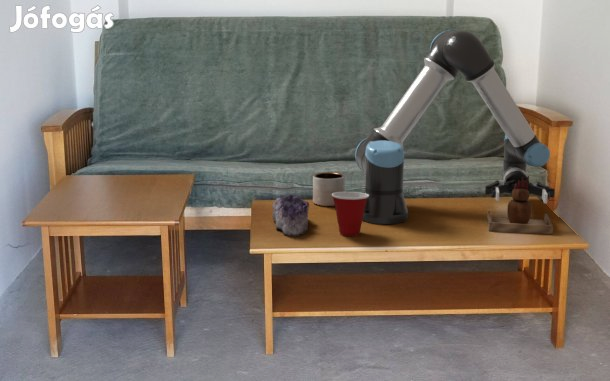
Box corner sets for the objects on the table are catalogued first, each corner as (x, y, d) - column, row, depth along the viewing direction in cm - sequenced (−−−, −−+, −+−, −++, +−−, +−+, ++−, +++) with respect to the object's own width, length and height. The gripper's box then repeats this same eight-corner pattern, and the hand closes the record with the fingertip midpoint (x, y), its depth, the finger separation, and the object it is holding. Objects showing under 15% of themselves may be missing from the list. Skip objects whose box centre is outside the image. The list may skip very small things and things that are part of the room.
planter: (332, 208, 229) (332, 180, 227) (306, 203, 235) (306, 176, 233) (351, 202, 237) (351, 174, 235) (325, 197, 244) (325, 170, 241)
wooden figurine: (532, 223, 208) (536, 175, 205) (527, 228, 204) (530, 178, 200) (510, 220, 212) (513, 172, 208) (504, 225, 207) (507, 176, 204)
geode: (318, 236, 201) (314, 203, 198) (279, 243, 200) (274, 210, 197) (308, 214, 220) (304, 184, 217) (272, 221, 219) (267, 190, 216)
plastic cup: (371, 229, 206) (371, 189, 203) (365, 240, 196) (365, 198, 193) (335, 226, 209) (335, 188, 206) (327, 237, 199) (327, 196, 196)
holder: (489, 231, 203) (489, 222, 203) (487, 218, 216) (487, 211, 215) (552, 234, 200) (552, 226, 199) (546, 221, 212) (547, 213, 212)
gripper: (556, 194, 223) (565, 212, 203) (476, 191, 228) (477, 208, 208) (557, 171, 221) (567, 187, 201) (477, 169, 226) (478, 183, 206)
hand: (521, 197), depth 204 cm, fingers open, 13 cm apart
